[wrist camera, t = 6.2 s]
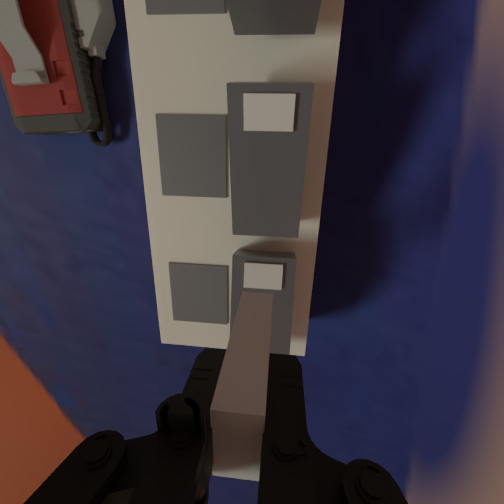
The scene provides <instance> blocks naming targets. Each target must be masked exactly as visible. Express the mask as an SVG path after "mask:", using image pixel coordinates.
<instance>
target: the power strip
mask: <svg viewBox="0 0 504 504" xmlns="http://www.w3.org/2000/svg"><path fill="white" fill-rule="evenodd" d="M124 7H125V16H126V25H127V34H128V43H129V52H130V62H131V71H132V80H133V89H134V98H135V107H136V116H137V125H138V135H139V144H140V153H141V162H142V171H143V180H144V189H145V198H146V208H147V217H148V226H149V235H150V244H151V253H152V262H153V272H154V281H155V290H156V299H157V308H158V317H159V326H160V335H161V343H167V344H178V345H189V346H200V347H211V348H222V349H227V346H228V342H229V338H230V314H231V283H232V255H233V254H234V253H235V252H236V251H237V250H238V249H242V250H259V251H276V252H294V253H295V256H296V273H295V287H294V301H293V315H292V329H291V343H290V355H300V356H305V348H306V339H307V330H308V321H309V312H310V303H311V295H312V286H313V277H314V268H315V259H316V250H317V241H318V232H319V223H320V214H321V205H322V196H323V187H324V179H325V170H326V161H327V152H328V143H329V134H330V125H331V116H332V107H333V98H334V89H335V80H336V71H337V63H338V54H339V45H340V36H341V27H342V18H343V9H344V0H322V1H321V6H320V10H319V15H318V20H317V25H316V30H315V34H304V35H235V34H234V30H233V26H232V22H231V18H230V14H229V10H228V7H227V3H226V0H124ZM229 82H312V83H314V91H313V101H312V111H311V120H310V130H309V139H308V149H307V158H306V168H305V178H304V187H303V197H302V206H301V216H300V225H299V235H298V238H285V237H267V236H248V235H233V232H232V208H231V183H230V158H229V133H228V108H227V83H229Z"/></svg>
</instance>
